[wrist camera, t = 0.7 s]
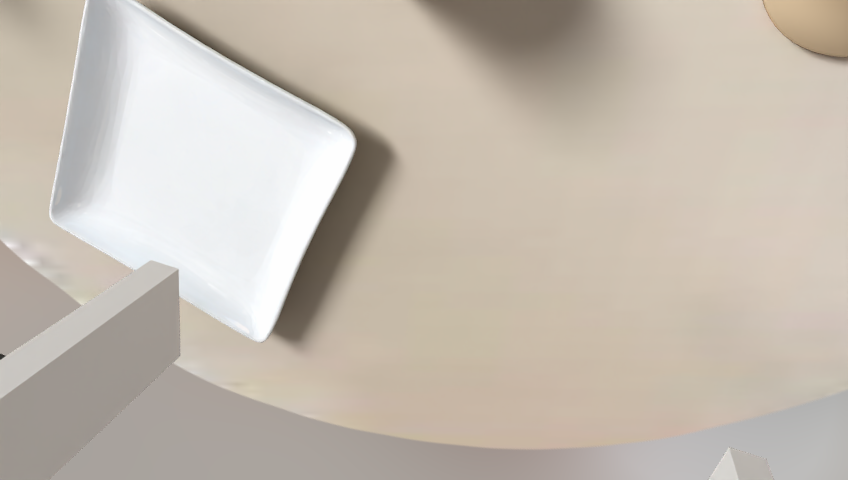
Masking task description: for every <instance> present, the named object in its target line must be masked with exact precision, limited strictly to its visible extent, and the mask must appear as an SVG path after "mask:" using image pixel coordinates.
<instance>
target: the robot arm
mask: <svg viewBox="0 0 848 480" xmlns="http://www.w3.org/2000/svg"><path fill="white" fill-rule="evenodd" d="M179 356H180V310H179V269H177V268H174V267H171V266H168V265H165V264H162V263H159V262H156V261H153V260H150V261H149V262H147V263H146V264H144V265H143V266H141V267H140V268H138V269H137V270H135V271H134V272H132V273H131V274H129V275H128V276H126V277H125V278H123V279H122V280H120V281H119V282H117V283H116V284H114V285H113V286H111V287H110V288H108V289H107V290H105V291H104V292H102V293H101V294H99V295H97V296H96V297H94V298H93V299H91V300H90V301H88V302H87V303H85V304H84V305H82V306H81V307H79V308H78V309H76V310H75V311H73V312H72V313H70V314H69V315H67V316H66V317H64V318H63V319H61V320H60V321H58V322H57V323H55V324H54V325H52V326H51V327H49V328H48V329H46V330H45V331H43V332H42V333H40V334H39V335H37V336H36V337H34V338H33V339H31V340H30V341H28V342H27V343H25V344H24V345H22V346H21V347H19V348H18V349H16V350H15V351H13V352H12V353H10V354H9V355H7V356H4V355H2V354H0V480H49V479H50V478H51V477H52V476H54V475H55V474H56V473H57V472H58V471H59V470H60V469H61V468H62V467H63V466H64V465H65V464H66V463H67V462H68V461H69V460H70V459H71V458H73V457H74V456H75V455H76V454H77V453H78V452H79V451H80V450H81V449H82V448H83V447H84V446H85V445H86V444H87V443H88V442H90V441H91V440H92V439H93V438H94V437H95V436H96V435H97V434H98V433H99V432H100V431H101V430H102V429H103V428H104V427H105V426H107V424H109V423H110V422H111V421H112V420H113V419H114V418H115V417H116V416H117V415H118V414H119V413H120V412H121V411H122V410H123V409H124V408H126V406H127V405H129V404H130V403H131V402H132V401H133V400H134V399H135V398H136V397H137V396H138V395H139V394H140V393H141V392H142V391H144V390H145V389H146V388H147V387H148V386H149V385H150V384H151V383H152V382H153V381H154V380H155V379H156V378H157V377H158V376H159V375H160V374H161V373H163V372H164V371H165V370H166V369H167V368H168V367H169V366H170V365H171V364H172V363H173V362H174V361H175V360H176V359H177V358H178V357H179ZM709 480H774V478H773V476H772V473H771V470H770V467H769V465H768V462H767V459H764V458H761V457H758V456H755V455H752V454H749V453H746V452H743V451H740V450H737V449H734V448H730V447H729V448H728V450H727V451H726V453H725V454H724V456H723V457H722V459H721V461H720V462H719V464H718V466H717V467H716V469H715V470H714V472H713V473H712V475H711V477H710V478H709Z"/></svg>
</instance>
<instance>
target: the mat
mask: <svg viewBox="0 0 848 480" xmlns="http://www.w3.org/2000/svg"><path fill="white" fill-rule="evenodd" d="M763 4H764V7H765V9H766V11H767V13H768V16H769V17H770V19H771V20H772V22H773V23H774V25H775V26H776V27H777V29H778V30H779V31H780V32H781V33H782V34H783V35H784V36H786V37H787V38H788V39H789V40H791V41H792V42H794V43H796V44H797V45H799V46H801V47H803V48H806V49H808V50H811V51H814V52H817V53H820V54H825V55H829V56H839V57H848V0H763Z"/></svg>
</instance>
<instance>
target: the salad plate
mask: <svg viewBox="0 0 848 480" xmlns="http://www.w3.org/2000/svg"><path fill="white" fill-rule="evenodd" d="M356 146H357V141H356V137H355V134H354V133H353V131H352V130H351V129H350V128H349V127H348V126H346V125H345V124H344V123H342V122H341V121H339V120H338V119H336V118H334V117H333V116H331V115H329V114H328V113H326V112H324V111H322V110H321V109H319V108H317V107H315V106H314V105H312V104H310V103H308V102H306V101H304V100H302V99H300V98H298V97H296V96H295V95H293V94H291V93H289V92H287V91H285V90H283V89H282V88H280V87H278V86H276V85H274V84H272V83H271V82H269V81H267V80H265V79H264V78H262V77H260V76H258V75H256V74H255V73H253V72H251V71H249V70H248V69H246V68H244V67H242V66H241V65H239V64H237V63H235V62H234V61H232V60H230V59H228V58H227V57H225V56H223V55H222V54H220V53H218V52H216V51H215V50H213V49H211V48H210V47H208V46H206V45H205V44H203V43H201V42H200V41H198V40H196V39H195V38H193V37H192V36H190V35H188V34H187V33H185V32H184V31H182V30H180V29H179V28H177V27H176V26H174V25H172V24H171V23H169V22H168V21H166V20H165V19H163V18H162V17H160V16H159V15H157V14H156V13H154V12H153V11H151V10H150V9H148V8H147V7H145V6H144V5H142V4H141V3H139V2H138V1H136V0H86V1H85V6H84V12H83V18H82V23H81V29H80V35H79V41H78V48H77V54H76V60H75V67H74V73H73V79H72V85H71V91H70V96H69V102H68V108H67V114H66V120H65V126H64V131H63V136H62V142H61V147H60V153H59V158H58V163H57V168H56V175H55V180H54V185H53V191H52V196H51V202H50V209H49V216H50V219H51V220H52V221H53V223H55V224H56V225H57V226H59V227H60V228H62V229H64V230H65V231H67V232H69V233H71V234H72V235H74V236H76V237H77V238H79V239H81V240H82V241H84V242H86V243H88V244H89V245H91V246H93V247H95V248H96V249H98V250H100V251H102V252H103V253H105V254H107V255H109V256H110V257H112V258H114V259H115V260H117V261H119V262H120V263H122V264H124V265H126V266H128V267H129V268H131V269H133V270H134V271H135V270H137V269H138V268H140V267H141V266H143V265H144V264H146V263H147V262H149V261H150V260H153V261H156V262H159V263H162V264H165V265H168V266H171V267H174V268H177V269H179V297H181V298H182V299H184V300H186V301H187V302H189V303H191V304H192V305H194V306H196V307H197V308H199V309H201V310H202V311H204V312H205V313H207V314H209V315H210V316H212V317H214V318H215V319H217V320H219V321H220V322H222V323H224V324H225V325H227V326H229V327H230V328H232V329H234V330H235V331H237V332H239V333H241V334H242V335H244V336H246V337H248V338H250V339H252V340H254V341H256V342H261V343H262V342H264V341H265V340H267V339H268V337H269V336H270V334H271V333H272V331H273V329H274V327H275V325H276V322H277V320H278V318H279V316H280V313H281V310H282V308H283V305H284V303H285V300H286V297H287V295H288V292H289V290H290V287H291V285H292V283H293V280H294V278H295V276H296V273H297V271H298V268H299V266H300V264H301V261H302V259H303V257H304V255H305V253H306V250H307V248H308V246H309V244H310V242H311V240H312V238H313V236H314V234H315V232H316V230H317V228H318V226H319V223H320V221H321V219H322V217H323V216H324V214H325V212H326V210H327V208H328V206H329V204H330V202H331V200H332V199H333V197H334V195H335V193H336V191H337V189H338V187H339V185H340V183H341V181H342V180H343V178H344V176H345V174H346V171H347V169H348V167H349V165H350V163H351V161H352V159H353V156H354V153H355V151H356Z"/></svg>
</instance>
